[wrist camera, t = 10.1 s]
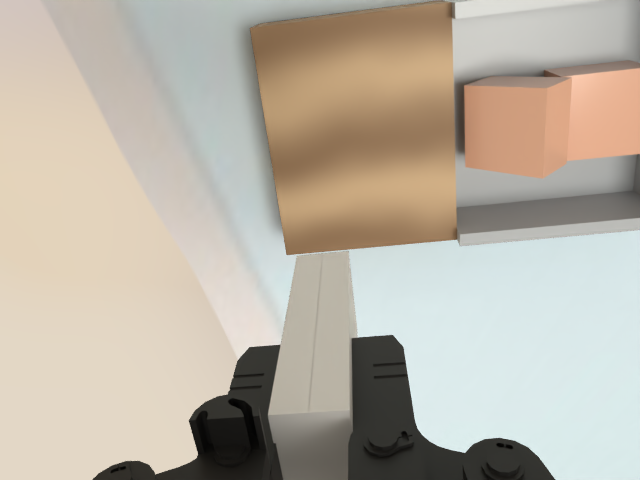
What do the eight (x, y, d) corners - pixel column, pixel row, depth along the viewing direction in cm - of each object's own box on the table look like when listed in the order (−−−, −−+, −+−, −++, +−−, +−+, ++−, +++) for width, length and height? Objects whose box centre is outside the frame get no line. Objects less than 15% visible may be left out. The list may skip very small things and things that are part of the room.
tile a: (491, 75, 34) (464, 85, 33) (572, 77, 31) (547, 88, 29) (490, 154, 37) (465, 167, 35) (566, 163, 33) (542, 178, 31)
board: (260, 23, 34) (249, 28, 31) (440, 0, 33) (451, 2, 30) (292, 230, 40) (286, 254, 36) (446, 215, 39) (457, 239, 35)
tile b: (653, 66, 31) (629, 60, 34) (561, 76, 31) (544, 69, 34) (643, 153, 33) (620, 140, 36) (556, 162, 34) (540, 148, 36)
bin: (440, 0, 33) (454, 2, 29) (667, -29, 32) (720, -32, 28) (446, 215, 39) (459, 246, 35) (639, 197, 38) (680, 226, 33)
